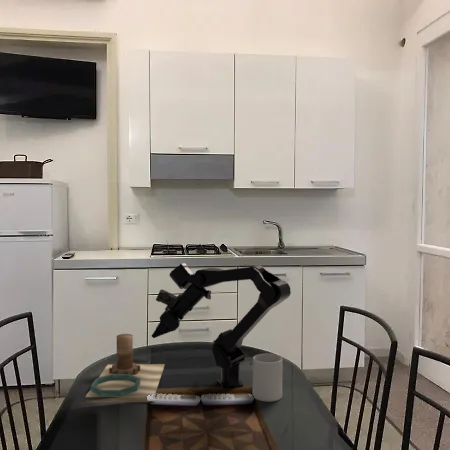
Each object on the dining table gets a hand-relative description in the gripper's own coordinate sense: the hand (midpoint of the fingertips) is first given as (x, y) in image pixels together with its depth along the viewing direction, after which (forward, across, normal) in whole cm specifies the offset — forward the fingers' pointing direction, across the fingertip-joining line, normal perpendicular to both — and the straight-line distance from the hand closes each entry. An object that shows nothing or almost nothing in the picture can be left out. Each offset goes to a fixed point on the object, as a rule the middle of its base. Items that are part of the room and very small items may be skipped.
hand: (154, 333), depth 150 cm
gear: (+15, +2, +2) cm, 15 cm away
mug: (-15, +15, +34) cm, 40 cm away
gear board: (+14, +8, +5) cm, 17 cm away
